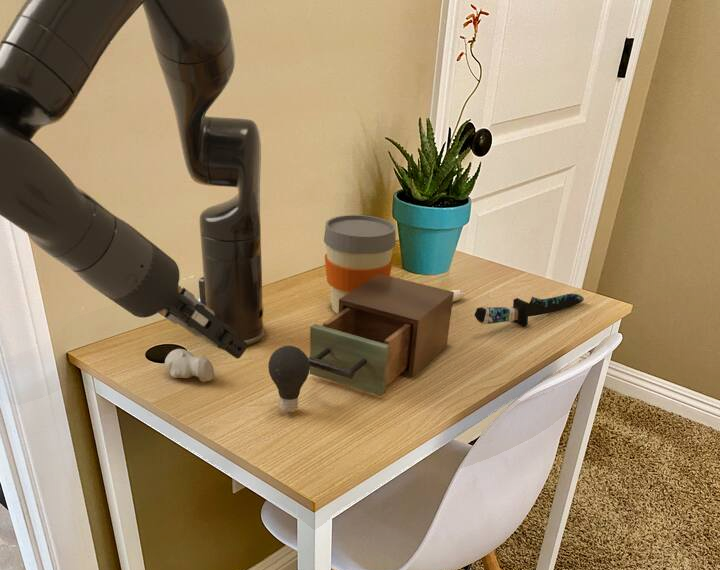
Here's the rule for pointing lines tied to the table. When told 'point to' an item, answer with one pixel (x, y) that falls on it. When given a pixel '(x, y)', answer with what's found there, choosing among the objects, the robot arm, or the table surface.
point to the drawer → (360, 349)
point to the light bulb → (289, 374)
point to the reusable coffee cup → (356, 252)
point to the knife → (526, 309)
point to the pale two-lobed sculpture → (188, 365)
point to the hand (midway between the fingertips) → (222, 338)
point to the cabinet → (408, 313)
